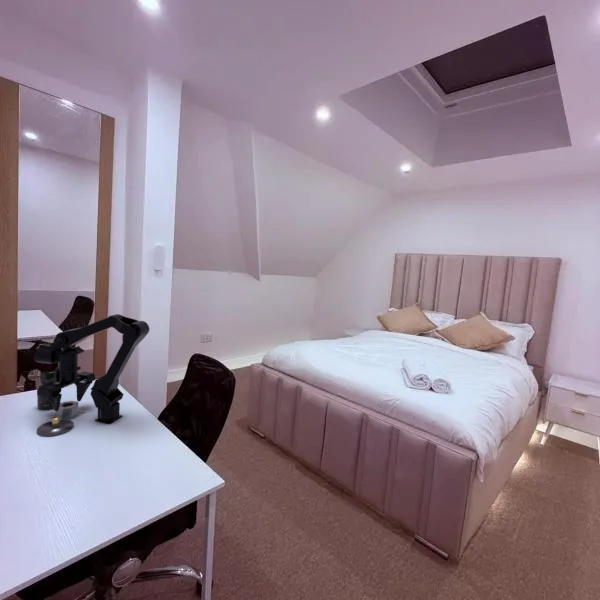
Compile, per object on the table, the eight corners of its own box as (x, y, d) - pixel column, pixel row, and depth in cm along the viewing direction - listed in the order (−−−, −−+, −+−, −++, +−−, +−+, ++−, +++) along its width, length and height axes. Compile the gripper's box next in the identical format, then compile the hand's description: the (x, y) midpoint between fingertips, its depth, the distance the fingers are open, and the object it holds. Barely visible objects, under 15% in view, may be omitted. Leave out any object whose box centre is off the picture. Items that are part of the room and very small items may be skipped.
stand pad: (85, 413, 123) (85, 412, 123) (66, 422, 115) (66, 421, 115) (68, 409, 124) (68, 408, 124) (48, 418, 117) (48, 418, 117)
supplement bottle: (40, 404, 127) (40, 374, 125) (61, 402, 130) (61, 373, 128) (34, 412, 120) (34, 380, 119) (57, 410, 123) (57, 379, 122)
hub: (81, 425, 114) (81, 414, 113) (54, 440, 104) (54, 427, 104) (57, 420, 116) (57, 409, 115) (28, 434, 106) (28, 422, 106)
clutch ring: (82, 412, 122) (82, 402, 122) (66, 420, 116) (67, 409, 115) (68, 410, 123) (68, 399, 123) (52, 417, 117) (52, 406, 117)
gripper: (72, 355, 128) (72, 393, 130) (23, 369, 110) (23, 413, 112) (96, 359, 126) (95, 397, 128) (50, 373, 108) (50, 418, 110)
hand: (67, 405), depth 119 cm, fingers open, 9 cm apart
